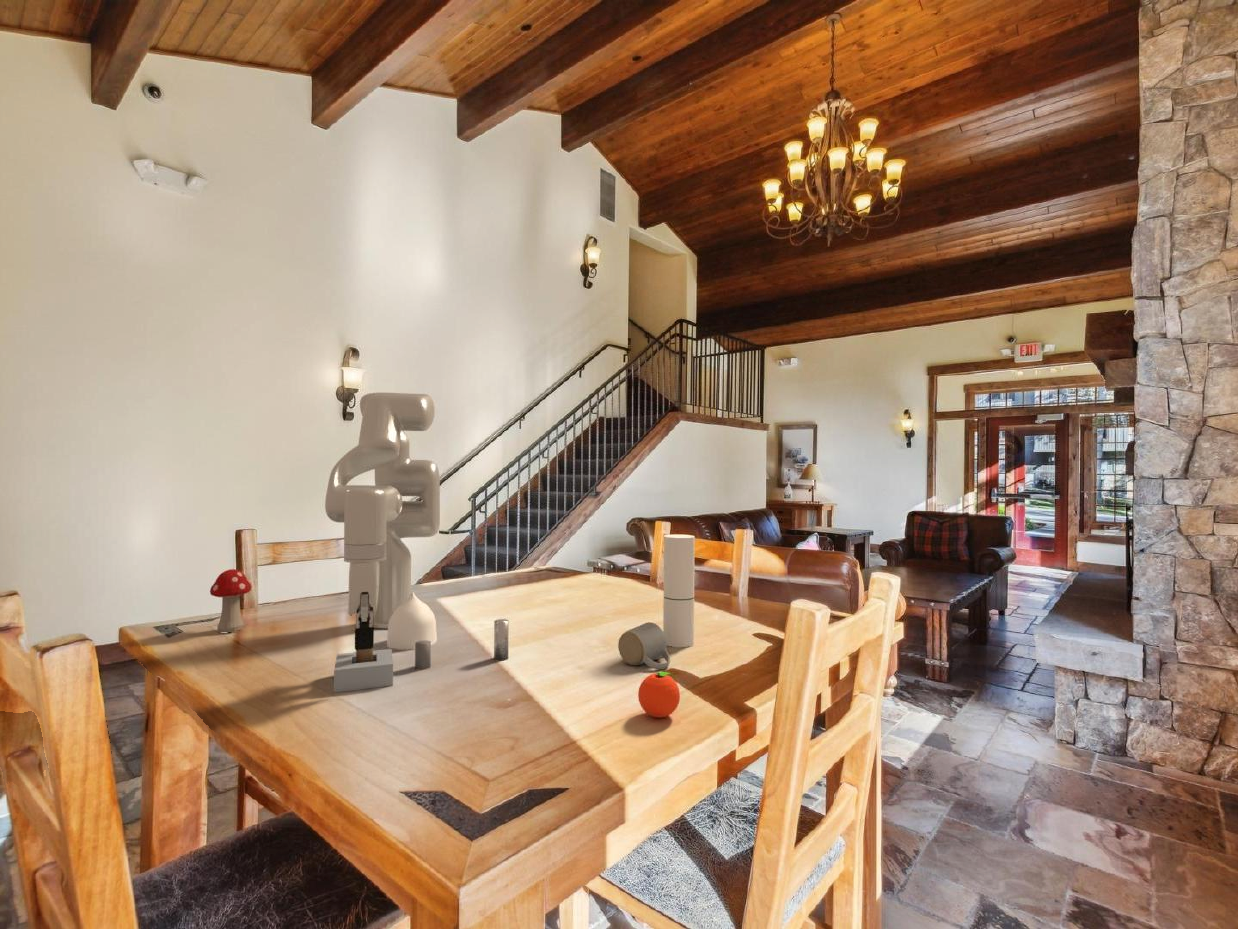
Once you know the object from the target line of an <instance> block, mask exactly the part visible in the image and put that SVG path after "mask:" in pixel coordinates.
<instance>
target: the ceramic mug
mask: <svg viewBox="0 0 1238 929" xmlns="http://www.w3.org/2000/svg"><path fill="white" fill-rule="evenodd" d="M662 629H663V628H661V627H660V626H659V625H657V623H654V622H645V623H642V624H640V625H638V626H635V627H633V628H630V629H628V630H627V631H624V632H623V633H622V634H621V636H620V637H619V639H618V644H617V648H618V653H619V655H620V657H621V659H622V661H624V662H625V663H626V664H628V665H630V666H639V665H643V664H645V665H646V666H648V667H650V668H651V669H654V670H659V669H662V670H665V669H667V668H668V667H669V666H670V662H671V656H670V654H669V653H668V652H667V647H668V646H667V642H666V637H665V635H664V633H663V630H662ZM662 657H663V658H664V660H665V661H666V662H663V663H661V662H656V661H655V660H658V659H660V658H662Z"/></svg>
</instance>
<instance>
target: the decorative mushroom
mask: <svg viewBox="0 0 1238 929" xmlns="http://www.w3.org/2000/svg"><path fill="white" fill-rule="evenodd" d="M252 588H253V587H252V584H251V582H250V581H249V580H248V578H247V577H246V574H244V573H243V572H242V571H241V570H239V569H234V568H232V569H227V570H224V571H223V572H221V573H220V574H219V575H218V576H217V577H216V579H215V582H214V583H213V584H212V586H211V587H210V590H209V593H210V594H209V595H211V596H213V597H216V598H222V602H221V603H222V604H221V605H222V606H221V614H220V618H219V622H218V624H217V630H218V633H219V632H234V633H236V632H235V631H238V630H240V629H242V630H243V628H244V624H245V622H244V620H243V618H242V613H241V605H240V604H241V603H240V602H241V601H240V600H241V599H240V598H241V597H240V596H244V595H246V594H248V593H250V592H251V591H252ZM242 627H243V628H242ZM240 631H241V630H240ZM238 632H239V631H238Z"/></svg>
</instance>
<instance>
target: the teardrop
mask: <svg viewBox="0 0 1238 929" xmlns="http://www.w3.org/2000/svg"><path fill="white" fill-rule="evenodd" d="M437 636H438V635H437V620H436V617H435V613H434V612H433V611H432V610H431V608H430V607H429V606H428V605H427V603H424V601H422V600H420V599H419V598H418V597H417V596H416V594H415V593H414V590H413V591H412V590H411V595H410V597H409V598H408V599H407V600H406V601H405V602H404V603H403V604H402V605H401V606H399V607H398V608H397V609H396V610H395V611H394V613H393V614H392V616H391V618H390V620H389V623H388V628H387V637H386V638H387V639H386V647H387V648H389V649H394V650H415V643H416V642H418V641H424V640H427V641H430V642H431V646H433V645H434V644H436V643H437V641H438V638H437Z"/></svg>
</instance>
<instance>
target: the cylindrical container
mask: <svg viewBox="0 0 1238 929" xmlns="http://www.w3.org/2000/svg"><path fill="white" fill-rule="evenodd" d="M695 539H696V537H695V535H691V534H664V535H663V606H662V607H663V617H662V618H663V620H662V622H663V624H662V626H663V628H662V629H663V630H662V631H663V633H664V635H665V637H666V642H667V645H668V646H667V647H671V646H672V647H671V648H688V646H689V647H692V646H694V644H695V560H696V559H695V548H696V546H695V545H696V544H695V543H696V542H695V541H696V540H695Z"/></svg>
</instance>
